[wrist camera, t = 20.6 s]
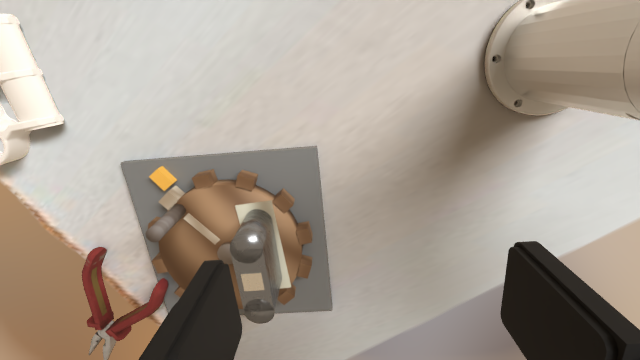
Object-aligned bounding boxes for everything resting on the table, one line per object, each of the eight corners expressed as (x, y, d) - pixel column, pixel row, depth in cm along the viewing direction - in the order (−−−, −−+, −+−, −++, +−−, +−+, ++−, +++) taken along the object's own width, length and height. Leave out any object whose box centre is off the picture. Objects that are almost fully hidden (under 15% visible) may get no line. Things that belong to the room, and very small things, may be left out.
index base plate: (317, 145, 38) (316, 150, 36) (332, 306, 46) (332, 316, 44) (124, 161, 40) (114, 166, 38) (172, 314, 48) (165, 324, 46)
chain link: (270, 208, 38) (259, 234, 32) (283, 287, 41) (276, 323, 36) (242, 210, 38) (226, 236, 32) (258, 289, 42) (246, 324, 36)
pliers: (70, 336, 51) (55, 349, 48) (99, 240, 44) (83, 250, 41) (136, 368, 51) (125, 383, 49) (174, 278, 44) (163, 291, 42)
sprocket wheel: (224, 133, 37) (197, 151, 29) (346, 247, 42) (349, 287, 34) (124, 240, 42) (80, 278, 35) (242, 330, 47) (225, 380, 40)
